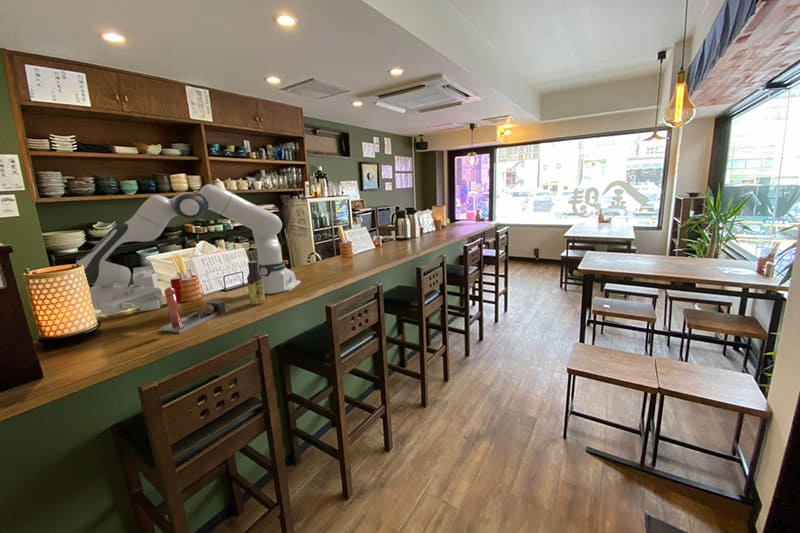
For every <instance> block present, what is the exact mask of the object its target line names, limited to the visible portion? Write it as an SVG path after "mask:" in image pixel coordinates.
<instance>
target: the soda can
mask: <svg viewBox="0 0 800 533" xmlns="http://www.w3.org/2000/svg"><path fill="white" fill-rule="evenodd" d="M178 276H179V275H177V276H173V277H172V276H171V277H170V286H171V288H173V289H174V290H175V294H176V299H177V304H181V303H180V302H181V292H180V290H181V282H179V281H180V280H181V279H182V277H181V278H178Z"/></svg>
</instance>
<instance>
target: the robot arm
mask: <svg viewBox="0 0 800 533" xmlns="http://www.w3.org/2000/svg"><path fill="white" fill-rule="evenodd" d="M207 210H210V211H212V212H214V213H217V214H219V215H221V216H223V217H225V218H227V219H229V220H232V221H233V222H235V223H238V224H239V225H242V226H243V227H246V228H247V229H251V232H252V236H253V240H254V244H255V246H256V251H257V252H256V253H257V258H258V259H257V261H258V270H259V273H260V275H261V277H262V279H263V287H264V295H266V294H267V295H269V294H276V293H282V292H290V291H292V290H293V289H294V288H296V287H297V286H298V285H299V284H301V280H299V279H296V275H295V274H296V273H295V272H294V271H292V270H290V269H289V268H287V267H286V265H288V264H289V260H285V259H283V255H282V247H281V243H280V241H279V238H278V236H277V235H278V234H279V233H280V232H281V230H282V228H283V223H282V220H281V219H280V217H279V216H278V215H277V214H274V213H273V212H271V211H269V210H268V209H265V208H263V207H261V206H259V205H256V204H254V203H252V202H250V201H248V200H246V199H244V198H243V197H240V196H238V195H237V194H235V193H233V192H231V191H230V190H227V189H225V188H223V187H220V186H218V185H215V184H214V185H213V184H210V183H208V184H205V185H203V186H202V187H201V188H200V190H199V191H198V192H196V193H193V192H181V193H178V194H176V195H174V196H172V197H170V198H168V197H166V196H164V195H160V194H159V195H158V194H153V195H151V196H149V197H148V198H147V199H146V200H145V201H144V202H143V203H142V204H141V206H140V207H139V208H138V209H137V211H136V212H135V213H134V215H133V216H132V217H131V218H130V219H128V220H127V221H125V222H121V223H118V224H116V225H114V226H113V227H112V228H111V229H110V230H108V232H106V234H105V235H104V236H103V237H102V238H101V239H100V240H99V241H98V242H97V243H96V244H95V245H94V246H93V247H92V248H91V250H89V251H88V253H86V254H85V255H84V256H83V257H81V258H80V259H78V260H77V261H76V262H75V264H82V265H83V266H84V269H85V273H86V277H87V280H88V284H87V285H93V286H91V287H89V288H90V293H91V299H92V304H93V307H92V308H93V309H94V310H95V311H96V310H97V311H98V310H100V312H101V313H104V314H107V315H111V314H117V313H119V312H123V311H125V312H126V311H128V310H130V309H136V308H138V306H139V305H140V304H143V303H146V302H149V301H152V300H160V299H161V297H162V298H163V291H162V289H161V288H160V287H159V288H154V287H144V286H142V285H140V286H134V285H133V286H131V285H132V283H133V273H132V271H131V269H130V268H129V267H128V266H124V265H121V264H118V263H112V262H110V261H105V260H106V259H107V258H109V256H110V255H111V254H112V253H113V252H114V251H115V249H116V248H117V247H119V246H120V245H122V244H124V243H128V242H129V243H130V242H151V241H152V240H153V241H154V240H156V239H157V238H159V237H160V236H161V235H162V233H163V231H164V230H165V228H166V227H167V225H168V223H170V221H171V220H172V219H173V218H174V217H180V218H181V219H185V220H190V221H191V220H195V219H197V218H199V217H200V216H202V215H203V214H204V213H205V212H206V211H207Z"/></svg>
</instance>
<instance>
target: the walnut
mask: <svg viewBox="0 0 800 533" xmlns="http://www.w3.org/2000/svg"><path fill="white" fill-rule="evenodd" d="M202 312H204V313H205V314H208V315H210V314H211V313H213V312H214V307H213V306H212V305H207V304H206V305H204V307H203V309H202Z"/></svg>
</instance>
